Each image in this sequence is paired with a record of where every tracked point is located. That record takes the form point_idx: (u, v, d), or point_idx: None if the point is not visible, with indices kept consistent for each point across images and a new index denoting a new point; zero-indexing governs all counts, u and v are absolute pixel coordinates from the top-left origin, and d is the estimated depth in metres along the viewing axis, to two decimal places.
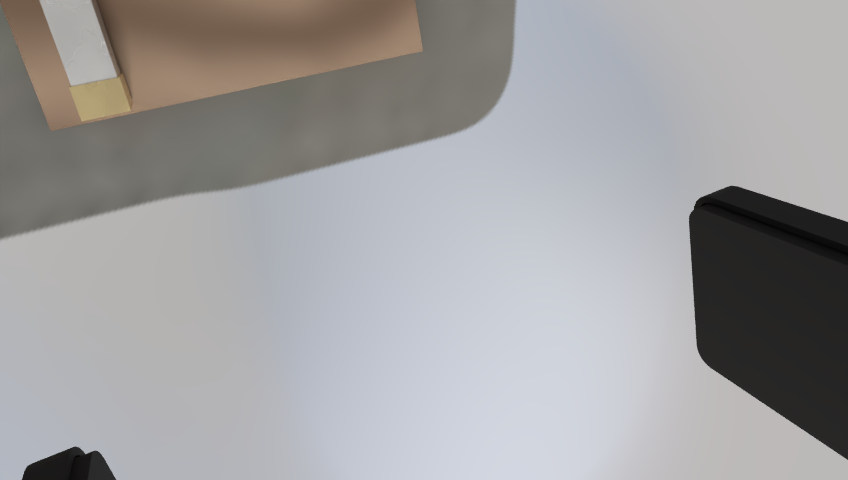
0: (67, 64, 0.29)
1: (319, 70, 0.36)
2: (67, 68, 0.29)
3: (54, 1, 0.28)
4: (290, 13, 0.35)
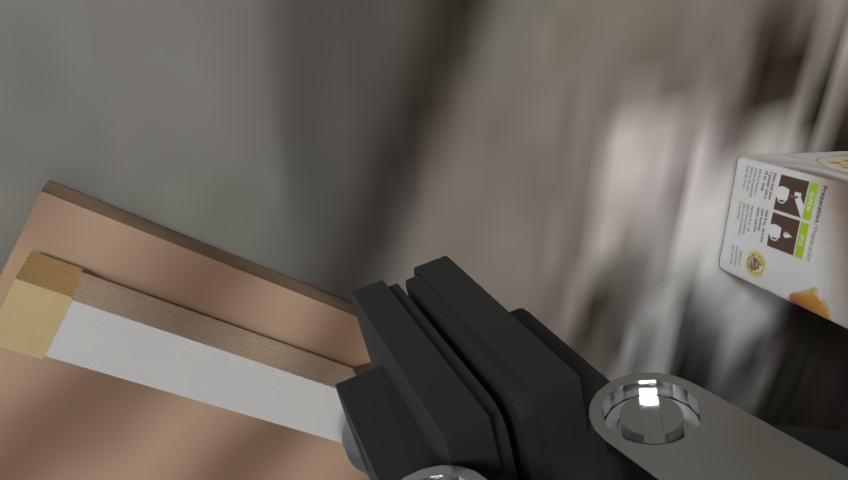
0: (101, 315, 0.20)
1: None
2: (97, 311, 0.20)
3: (178, 353, 0.21)
4: None
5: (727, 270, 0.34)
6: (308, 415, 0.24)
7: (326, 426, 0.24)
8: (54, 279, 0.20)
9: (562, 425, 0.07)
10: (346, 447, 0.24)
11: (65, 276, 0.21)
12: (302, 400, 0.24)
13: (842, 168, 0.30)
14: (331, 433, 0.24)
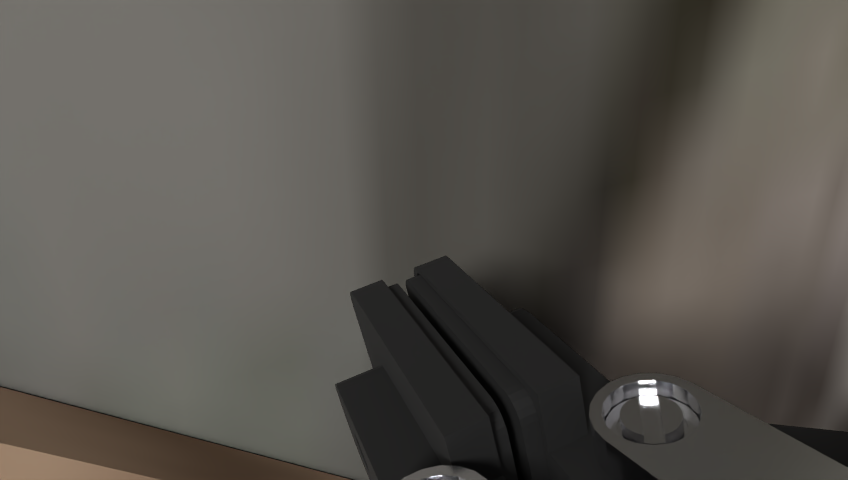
0: None
1: None
2: None
3: None
4: None
5: None
6: None
7: None
8: None
9: (562, 425, 0.07)
10: None
11: None
12: None
13: None
14: None
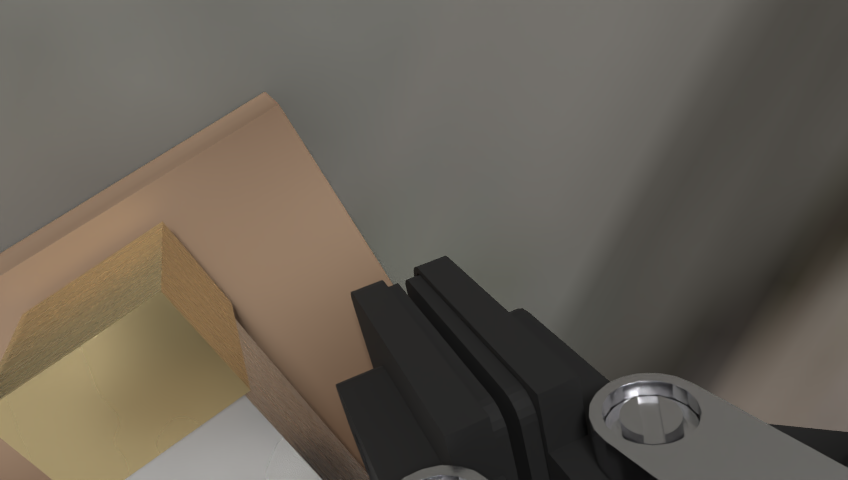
0: (277, 451, 0.08)
1: None
2: (274, 440, 0.08)
3: None
4: None
5: None
6: None
7: None
8: (211, 319, 0.08)
9: (562, 425, 0.07)
10: None
11: (221, 316, 0.09)
12: None
13: None
14: None
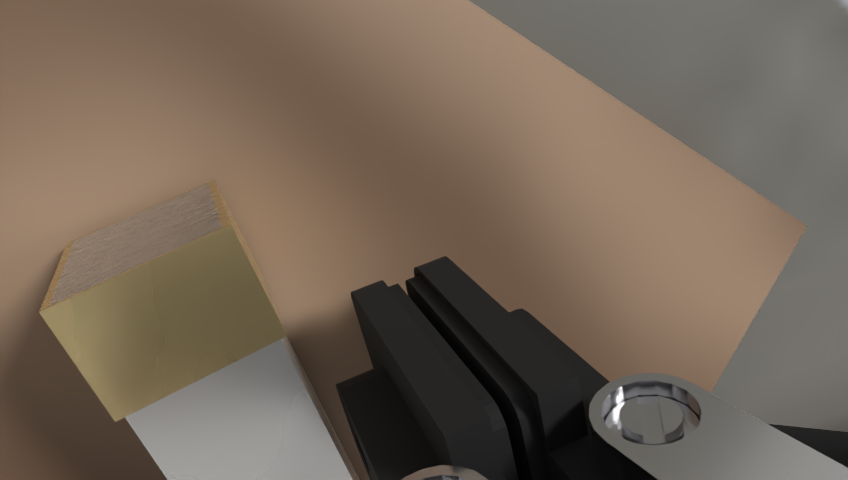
0: (297, 401, 0.09)
1: None
2: (297, 389, 0.08)
3: None
4: (203, 102, 0.10)
5: None
6: None
7: None
8: (255, 269, 0.09)
9: (561, 425, 0.07)
10: None
11: (258, 271, 0.09)
12: None
13: None
14: None
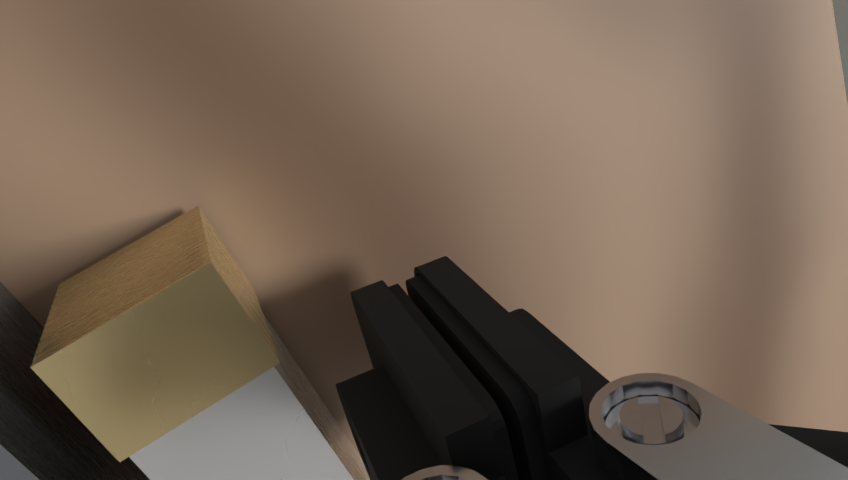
0: (298, 423, 0.09)
1: None
2: (296, 413, 0.09)
3: None
4: (712, 99, 0.13)
5: None
6: None
7: None
8: (245, 296, 0.09)
9: (562, 425, 0.07)
10: None
11: (250, 296, 0.09)
12: None
13: None
14: None
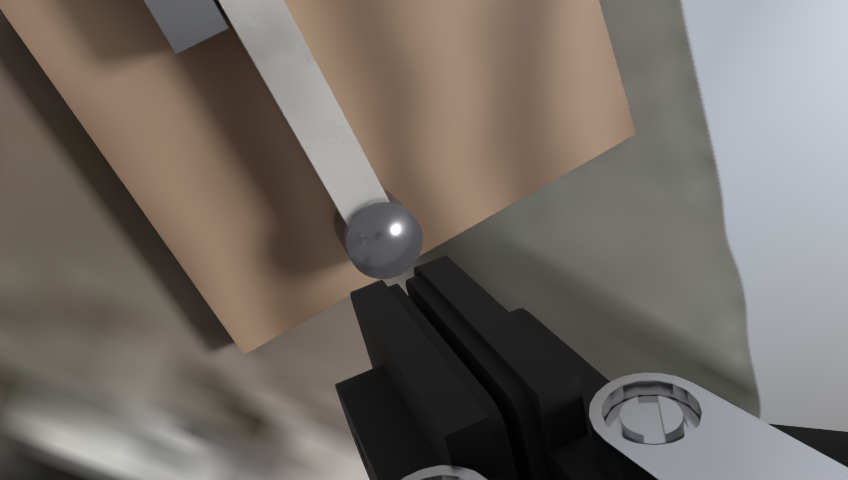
0: None
1: None
2: None
3: (293, 51, 0.24)
4: None
5: None
6: (341, 181, 0.26)
7: (346, 201, 0.26)
8: None
9: (562, 425, 0.07)
10: (353, 227, 0.26)
11: None
12: (346, 165, 0.26)
13: None
14: (346, 211, 0.27)
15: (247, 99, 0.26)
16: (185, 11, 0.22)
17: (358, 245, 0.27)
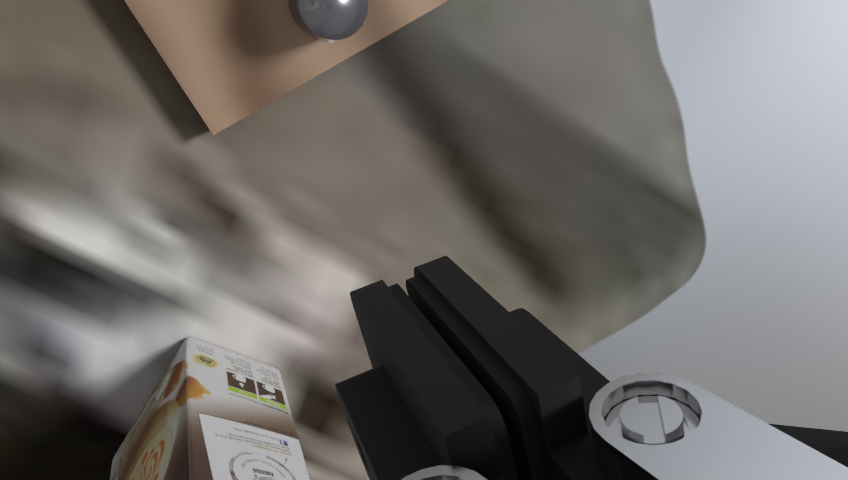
0: None
1: None
2: None
3: None
4: None
5: (188, 341, 0.37)
6: None
7: None
8: None
9: (562, 425, 0.07)
10: None
11: None
12: None
13: None
14: None
15: None
16: None
17: (309, 3, 0.30)
